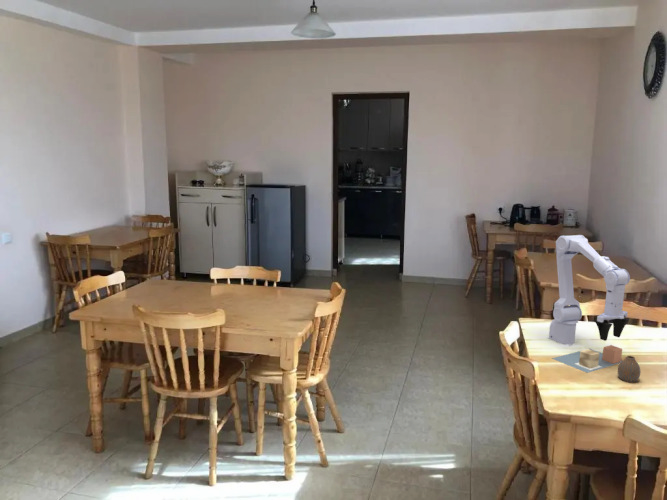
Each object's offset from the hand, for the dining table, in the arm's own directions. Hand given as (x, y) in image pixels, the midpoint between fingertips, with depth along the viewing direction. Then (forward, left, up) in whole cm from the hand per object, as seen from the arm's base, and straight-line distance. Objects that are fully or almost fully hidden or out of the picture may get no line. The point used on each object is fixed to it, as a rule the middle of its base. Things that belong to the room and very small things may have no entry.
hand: (610, 338), depth 207 cm
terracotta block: (0, +2, -9) cm, 9 cm away
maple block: (-1, -10, -9) cm, 13 cm away
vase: (+13, -8, -10) cm, 18 cm away
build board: (-4, -5, -10) cm, 12 cm away
